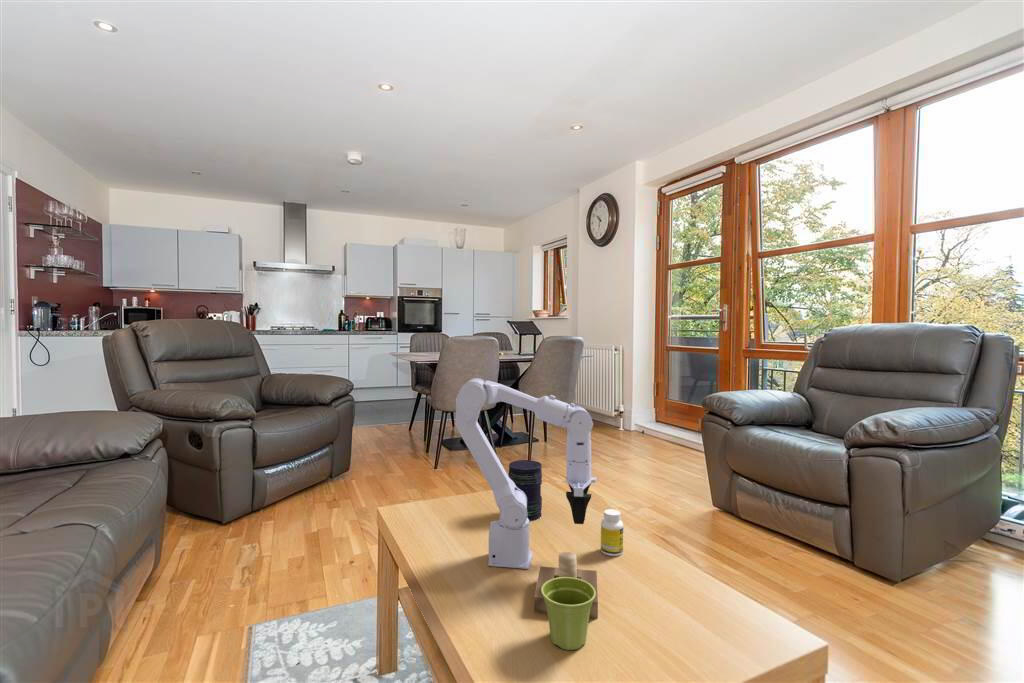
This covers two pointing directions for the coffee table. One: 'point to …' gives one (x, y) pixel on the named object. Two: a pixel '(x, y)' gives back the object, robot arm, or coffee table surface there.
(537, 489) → the storage jar
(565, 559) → the pin
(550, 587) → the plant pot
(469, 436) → the robot arm
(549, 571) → the socket block
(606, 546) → the supplement bottle
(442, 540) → the coffee table surface
